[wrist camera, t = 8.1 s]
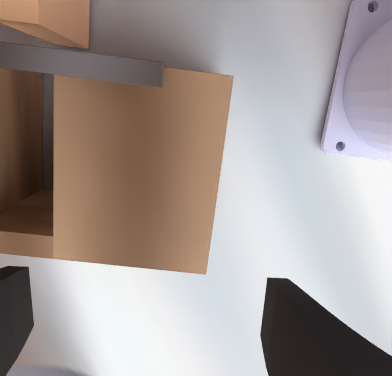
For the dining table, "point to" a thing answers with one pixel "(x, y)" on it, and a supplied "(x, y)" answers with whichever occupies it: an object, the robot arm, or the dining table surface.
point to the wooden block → (110, 159)
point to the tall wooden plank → (49, 20)
